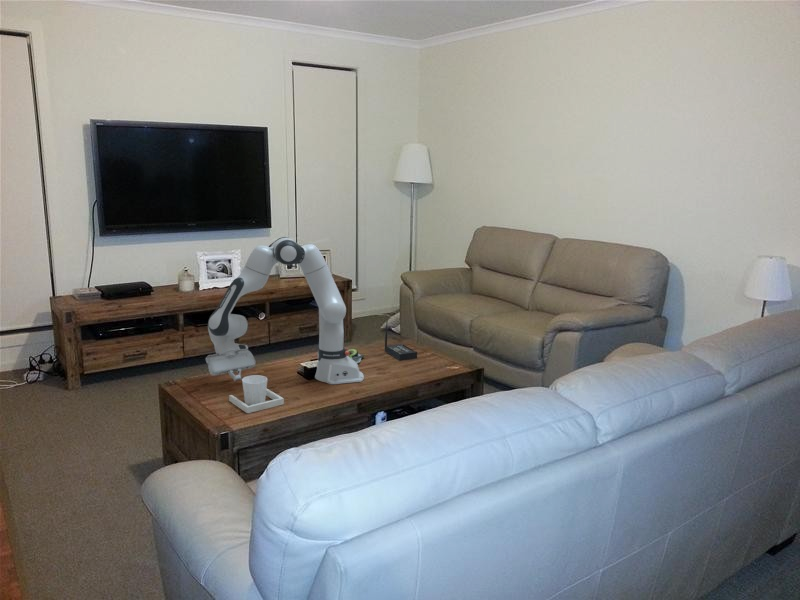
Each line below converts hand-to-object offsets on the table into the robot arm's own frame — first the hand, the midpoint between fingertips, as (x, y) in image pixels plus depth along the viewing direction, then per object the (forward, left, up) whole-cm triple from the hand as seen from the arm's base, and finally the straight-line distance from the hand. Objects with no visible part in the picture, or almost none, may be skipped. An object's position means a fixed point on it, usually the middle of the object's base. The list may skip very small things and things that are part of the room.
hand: (237, 379), depth 263 cm
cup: (-7, +13, -5) cm, 16 cm away
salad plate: (-51, -39, -6) cm, 64 cm away
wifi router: (-80, -47, -6) cm, 93 cm away
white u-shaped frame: (-8, +13, -5) cm, 16 cm away
